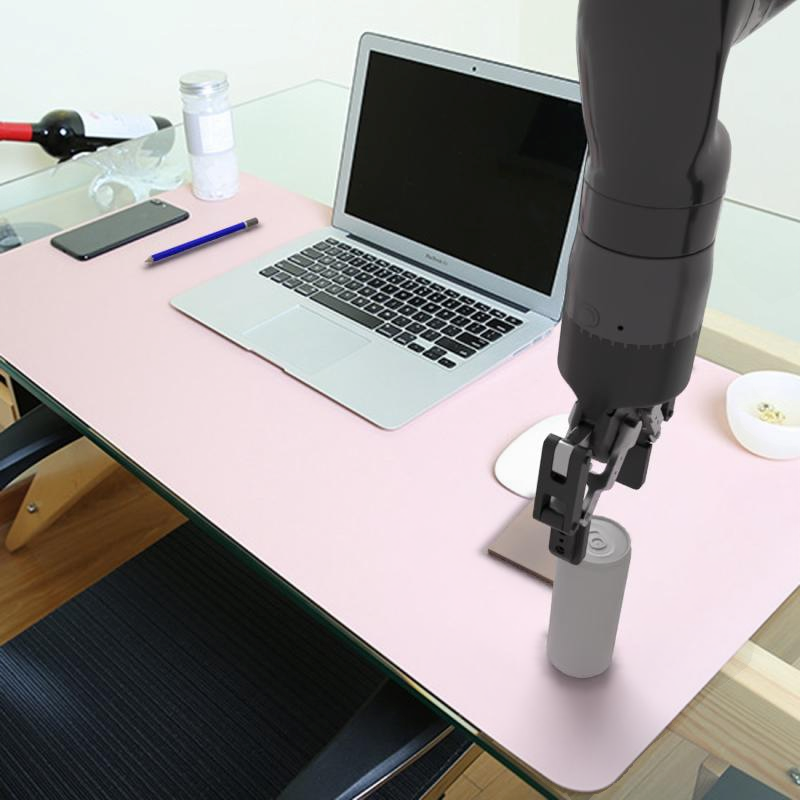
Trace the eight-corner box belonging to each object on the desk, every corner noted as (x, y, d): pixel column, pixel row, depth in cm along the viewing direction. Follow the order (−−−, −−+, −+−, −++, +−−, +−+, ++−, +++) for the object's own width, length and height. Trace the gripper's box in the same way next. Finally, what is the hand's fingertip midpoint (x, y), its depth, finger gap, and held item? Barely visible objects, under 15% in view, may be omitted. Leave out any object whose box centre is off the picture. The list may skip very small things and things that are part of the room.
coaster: (619, 536, 80) (620, 533, 79) (574, 595, 75) (574, 591, 74) (536, 498, 84) (536, 495, 83) (487, 552, 78) (487, 548, 78)
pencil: (255, 222, 128) (255, 215, 127) (259, 224, 127) (259, 217, 126) (143, 264, 119) (142, 257, 118) (147, 266, 118) (145, 259, 118)
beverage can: (555, 687, 68) (571, 569, 61) (537, 634, 72) (550, 517, 64) (620, 677, 68) (644, 560, 61) (598, 625, 72) (618, 509, 65)
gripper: (640, 388, 46) (599, 613, 55) (747, 270, 55) (696, 481, 65) (506, 338, 49) (490, 558, 59) (628, 235, 58) (596, 440, 68)
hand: (598, 517), depth 62 cm, fingers open, 8 cm apart
